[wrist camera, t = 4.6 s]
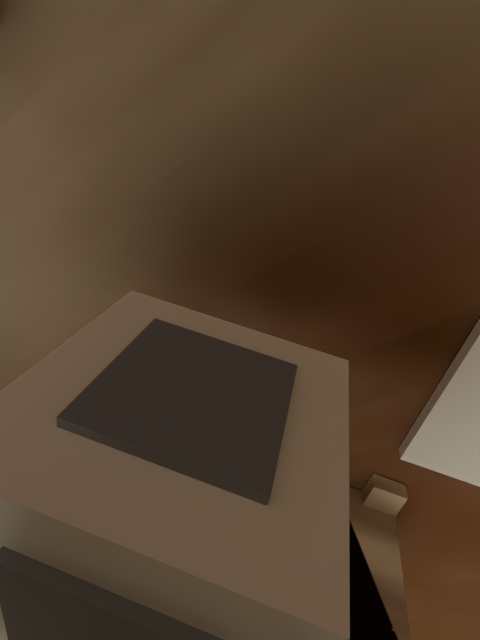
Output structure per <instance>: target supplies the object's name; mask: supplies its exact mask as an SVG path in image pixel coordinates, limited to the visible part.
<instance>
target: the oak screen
mask: <svg viewBox="0 0 480 640" xmlns="http://www.w3.org/2000/svg"><path fill="white" fill-rule="evenodd" d="M407 500H408V496H407V490H406V485H404V484H402V483H399V482H396V481H393V480H390V479H388V478H385V477H382V476H379V475H376V474H374V473H373V474H372V476H371V477H370V479H369V481H368V482H367V484H366V486H365V487H364V489H363V491H361V490H358V489H355V488H352V487H350V486H349V518H350V520H351V523H352V525H353V528H354V530H355V533H356V535H357V538H358V540H359V543H360V545H361V548H362V550H363V553H364V555H365V558H366V560H367V563H368V565H369V568H370V570H371V573H372V575H373V578H374V580H375V583H376V585H377V588H378V590H379V593H380V595H381V598H382V600H383V603H384V605H385V608H386V610H387V613H388V615H389V618H390V620H391V623H392V625H393V629H392V630H393V631H395V632H396V635H397V637H398V640H410V631H409V623H408V615H407V607H406V599H405V591H404V583H403V574H402V566H401V558H400V550H399V542H398V534H397V526H396V515H397V514H398V512H399V511H400V510H401V508H402V507H403V505H404V504H405V503H406V501H407Z"/></svg>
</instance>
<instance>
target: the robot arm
mask: <svg viewBox="0 0 480 640" xmlns="http://www.w3.org/2000/svg"><path fill="white" fill-rule="evenodd" d="M349 558H350V639H349V640H398V637H397V635H396V632H395V631H393V630H392V629H393V625H392V623H391V620H390V618H389V615H388V613H387V610H386V608H385V605H384V603H383V600H382V598H381V595H380V593H379V590H378V588H377V585H376V583H375V580H374V578H373V575H372V573H371V570H370V568H369V565H368V563H367V560H366V558H365V555H364V553H363V550H362V548H361V545H360V543H359V540H358V538H357V535H356V533H355V530H354V528H353V525H352V523H351V520H350V518H349Z"/></svg>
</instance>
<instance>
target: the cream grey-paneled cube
mask: <svg viewBox="0 0 480 640" xmlns="http://www.w3.org/2000/svg"><path fill="white" fill-rule="evenodd" d="M349 639H350V558H349V360H346V359H342V358H339V357H336V356H333V355H330V354H327V353H324V352H321V351H318V350H315V349H312V348H308V347H305V346H302V345H299V344H296V343H293V342H290V341H287V340H284V339H281V338H278V337H274V336H271V335H268V334H265V333H262V332H259V331H256V330H253V329H250V328H247V327H244V326H240V325H237V324H234V323H231V322H228V321H225V320H222V319H219V318H216V317H213V316H210V315H206V314H203V313H200V312H197V311H194V310H191V309H188V308H185V307H182V306H179V305H176V304H173V303H169V302H166V301H163V300H160V299H157V298H154V297H151V296H148V295H145V294H142V293H139V292H135V291H130V292H129V293H128V294H126V295H125V296H124V297H123V298H121V299H120V300H119V301H117V302H116V303H115V304H113V305H112V306H111V307H110V308H108V309H107V310H106V311H104V312H103V313H102V314H100V315H99V316H98V317H97V318H95V319H94V320H93V321H91V322H90V323H89V324H87V325H86V326H85V327H84V328H82V329H81V330H80V331H78V332H77V333H76V334H74V335H73V336H72V337H71V338H69V339H68V340H67V341H65V342H64V343H63V344H61V345H60V346H59V347H58V348H56V349H55V350H54V351H52V352H51V353H50V354H48V355H47V356H46V357H44V358H43V359H42V360H41V361H39V362H38V363H37V364H35V365H34V366H33V367H31V368H30V369H29V370H28V371H26V372H25V373H24V374H22V375H21V376H20V377H18V378H17V379H16V380H15V381H13V382H12V383H11V384H9V385H8V386H7V387H5V388H4V389H3V390H2V391H0V640H349Z"/></svg>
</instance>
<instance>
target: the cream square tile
mask: <svg viewBox="0 0 480 640" xmlns="http://www.w3.org/2000/svg"><path fill="white" fill-rule="evenodd" d="M398 449H399V455H400V459H401V460H404V461H407V462H410V463H413V464H416V465H419V466H422V467H424V468H427V469H430V470H433V471H436V472H439V473H442V474H444V475H447V476H450V477H453V478H456V479H459V480H462V481H465V482H467V483H470V484H473V485H476V486H479V487H480V319H479V320H478V322H477V323H476V325H475V327H474V328H473V330H472V331H471V333H470V335H469V336H468V338H467V339H466V341H465V343H464V344H463V346H462V347H461V349H460V351H459V352H458V354H457V355H456V357H455V359H454V360H453V362H452V363H451V365H450V367H449V368H448V370H447V371H446V373H445V375H444V376H443V378H442V379H441V381H440V383H439V384H438V386H437V387H436V389H435V391H434V392H433V394H432V395H431V397H430V399H429V400H428V402H427V403H426V405H425V407H424V408H423V410H422V411H421V413H420V415H419V416H418V418H417V420H416V421H415V423H414V424H413V426H412V428H411V429H410V431H409V432H408V434H407V436H406V437H405V439H404V440H403V442H402V444H401V445H400V447H399V448H398Z"/></svg>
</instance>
